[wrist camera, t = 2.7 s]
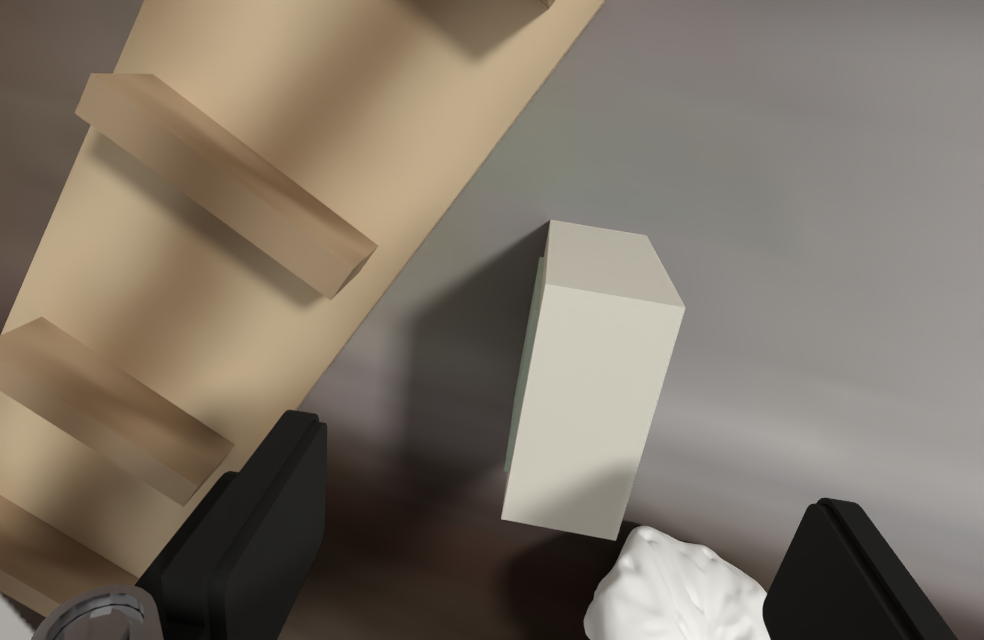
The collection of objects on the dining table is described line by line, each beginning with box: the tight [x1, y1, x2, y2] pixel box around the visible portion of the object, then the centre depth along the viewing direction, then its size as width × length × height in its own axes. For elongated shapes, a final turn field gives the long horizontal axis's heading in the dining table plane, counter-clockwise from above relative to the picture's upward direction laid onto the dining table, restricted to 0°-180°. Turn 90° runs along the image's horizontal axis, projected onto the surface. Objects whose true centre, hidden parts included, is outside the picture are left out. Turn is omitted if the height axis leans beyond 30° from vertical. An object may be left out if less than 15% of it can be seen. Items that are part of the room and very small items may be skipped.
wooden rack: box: [0, 0, 606, 617], centre depth 19 cm, size 10×30×4 cm, turn 142°
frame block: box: [501, 220, 685, 541], centre depth 17 cm, size 3×7×6 cm, turn 172°
